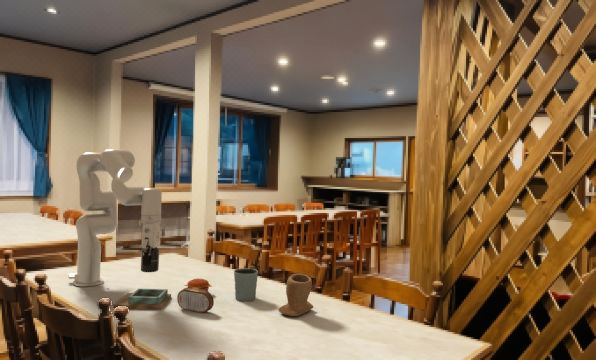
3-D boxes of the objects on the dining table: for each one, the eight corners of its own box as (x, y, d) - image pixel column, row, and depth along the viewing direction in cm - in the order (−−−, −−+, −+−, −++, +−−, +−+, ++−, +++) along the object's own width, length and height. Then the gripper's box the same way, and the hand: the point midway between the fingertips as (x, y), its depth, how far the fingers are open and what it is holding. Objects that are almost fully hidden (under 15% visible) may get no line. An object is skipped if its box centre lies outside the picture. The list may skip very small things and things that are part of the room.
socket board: (112, 308, 164) (113, 298, 164) (127, 296, 180) (127, 286, 180) (160, 309, 165) (160, 299, 165) (171, 297, 181) (171, 288, 181)
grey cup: (261, 297, 186) (262, 270, 186) (249, 303, 177) (250, 274, 177) (241, 294, 190) (242, 267, 190) (228, 299, 181) (229, 271, 181)
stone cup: (299, 321, 159) (300, 281, 158) (274, 314, 166) (275, 275, 165) (321, 311, 171) (322, 273, 171) (297, 305, 178) (298, 268, 178)
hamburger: (196, 298, 181) (196, 283, 181) (182, 294, 187) (182, 278, 187) (213, 294, 188) (214, 279, 188) (200, 289, 194) (200, 275, 194)
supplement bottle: (153, 273, 168) (153, 242, 168) (137, 272, 170) (138, 241, 170) (162, 269, 175) (162, 240, 175) (146, 268, 177) (147, 239, 176)
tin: (213, 312, 165) (214, 290, 165) (209, 315, 162) (210, 292, 162) (180, 307, 170) (181, 285, 170) (175, 309, 167) (176, 287, 167)
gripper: (154, 221, 164) (153, 268, 164) (166, 217, 181) (165, 259, 181) (134, 221, 163) (133, 268, 164) (148, 216, 181) (147, 258, 181)
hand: (150, 263), depth 172 cm, fingers closed on supplement bottle, 6 cm apart
